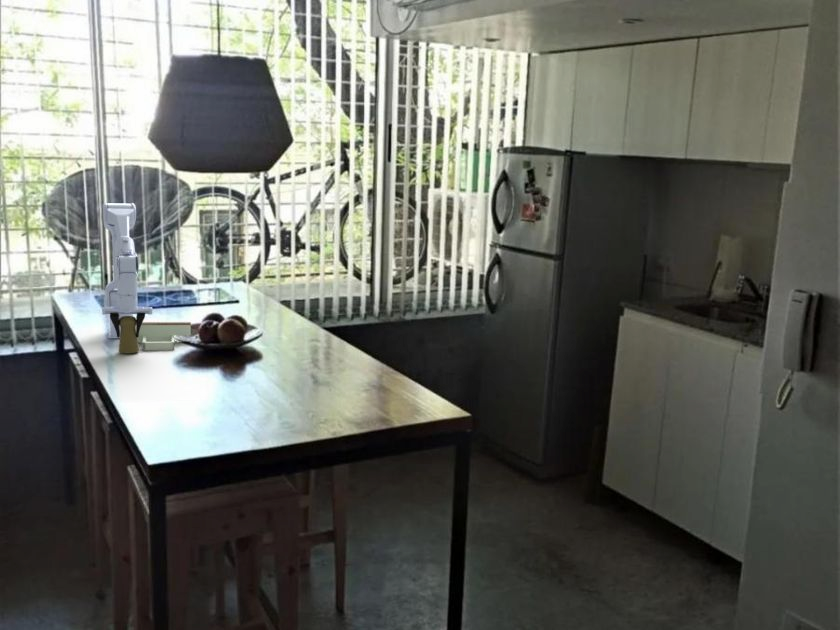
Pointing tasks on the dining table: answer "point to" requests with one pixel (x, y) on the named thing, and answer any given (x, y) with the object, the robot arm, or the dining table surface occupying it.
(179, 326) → the stand
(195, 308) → the dining table surface
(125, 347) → the cork
